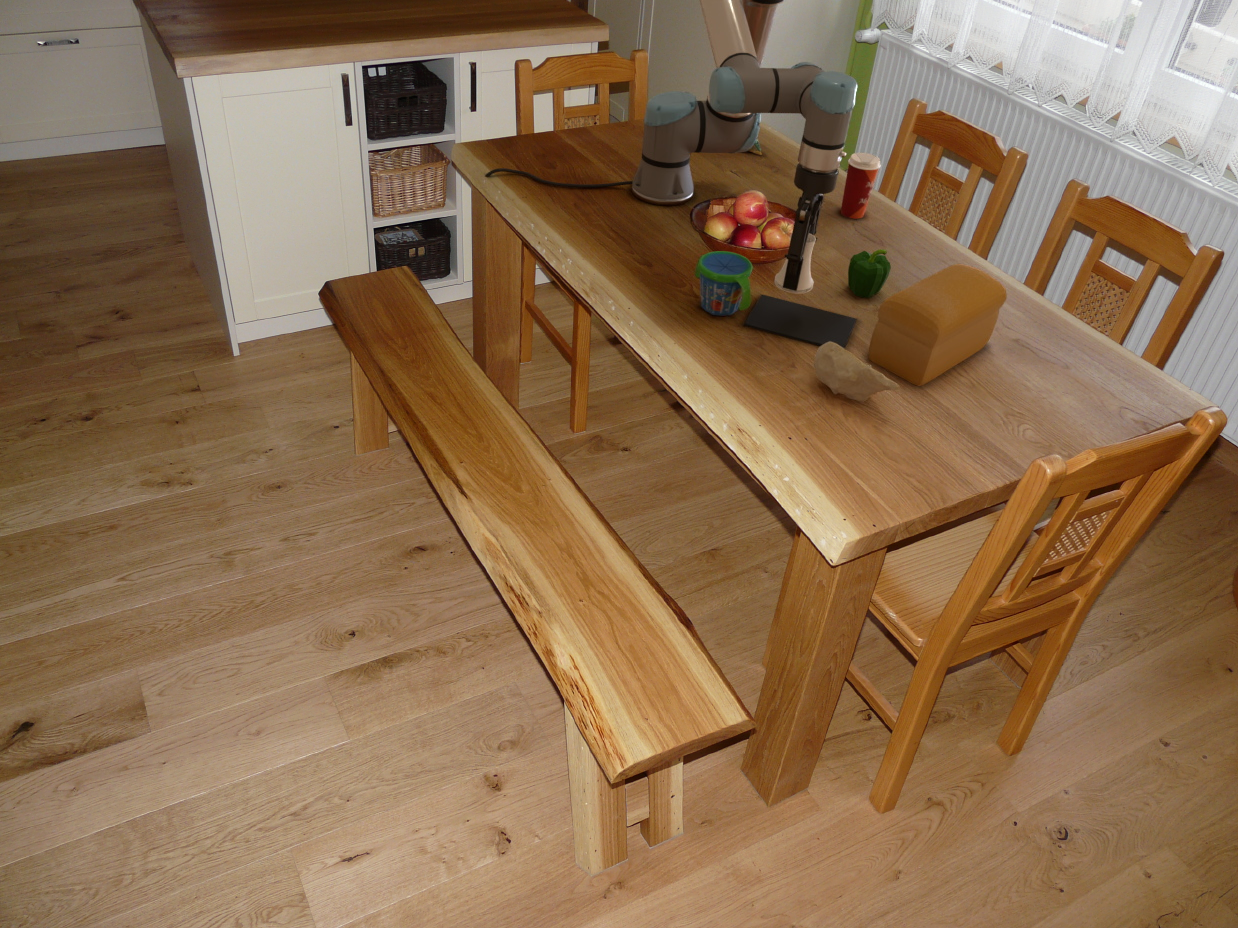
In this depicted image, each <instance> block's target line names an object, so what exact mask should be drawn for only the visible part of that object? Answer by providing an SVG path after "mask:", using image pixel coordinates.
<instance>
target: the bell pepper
mask: <svg viewBox="0 0 1238 928" xmlns="http://www.w3.org/2000/svg"><path fill="white" fill-rule="evenodd" d="M887 253H888V251H887V250H886V249H877V250H875V251H873V252H872V253H870V252H868V251H867V250H862V251H861V252H858V253H856V254H853V255H852V256H851V258H850V260H849V265H848V272H847V282H848V283H847V284H848V288H849V290H850V291H852V293H853V295H854V296H857V297H858V298H865V299H868V298H869V299H870V298H872V297H873V296H876V295H877V294H878V293H879V292H880V291H881V290H882V288H883V287H884V285H885V283H886V281H888V278H889V275H890V272H891V269H892V267H891V262H890V261H889V260H888V258H887V256H886V255H887Z"/></svg>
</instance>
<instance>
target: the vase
mask: <svg viewBox="0 0 1238 928" xmlns="http://www.w3.org/2000/svg"><path fill="white" fill-rule="evenodd" d="M791 236H792V233H790V236H789V238H790V239H789V242H790V241H791ZM815 241H816V235H812V234H810V233H809V235H808V238H807V242H806V246H805V250H804V254H803V264H802V269H801V274H800V278H799V283H798V288H797V290H796V291H794V290H790V289H786V288H783V283H784V278H785V273H786V268H787V263H788V259H787V258H786V257H785V260H784V263H783V265H782V267H781V269H780V270H779V272H777V273H776V274H775V276H774V280H773V281H774V285H775V286H776V287H777V288H778V289H779V290H781V291H784V292H786V293H789V294H795V295H796V294H798V295H800V294H801V295H802V294H806V293H809V292H811V291H812V290H813V288H814V284H815V282H814V279H813V278H812V272H811V261H812V253H813V249H814V247H815V244H816V243H815Z"/></svg>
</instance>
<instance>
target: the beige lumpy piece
mask: <svg viewBox="0 0 1238 928" xmlns="http://www.w3.org/2000/svg"><path fill="white" fill-rule="evenodd" d="M813 368H814V372H815V374H816V376H817V379H818V380H819V381H820V382H821V383H823V384H824V385H826V386H827V387H828V388H829V389H830V390H831V391H832V393H833V394H834V395H838V394H841V395H844V396H845V397H846V398H847V399H851V400H854V401H859V402H860V403H864V402H866V401H867V400H868V399H869V398H870V397H871V396H873V395H877V394H878V393H881V392H884V391H890V392H891V391H895V390H896V391H897V390H898V389H900V385H899V384H898V383H896V382H895V381H893V380H892V379H890V378H888V377H887V376H885V374H884V373H882V372H881V371H878V370H876V369H875V368H873V366H872V365H871V364H870V363H868V362H864V361H862V360H860V359H859V358H858V357H857V356H855V354H854V353H852V352H851V351H849V350H848V349H846V348H842V347H841V346H839V345H838V344H836V343H834V342H830V341H829V342H827V343H825V344H823V345H822V346H818V348H817V351H816V352H815V355H814V362H813Z"/></svg>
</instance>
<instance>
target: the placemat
mask: <svg viewBox="0 0 1238 928" xmlns="http://www.w3.org/2000/svg"><path fill="white" fill-rule="evenodd" d="M856 322H857V318H855V317H851V316H848V315H844V314H841V313H837V312H833V311H829V310H825V309H821V308H817V307H813V306H808V305H806V304H801V303H798V302H794V301H789V300H785V299H782V298H778V297H774V296H770V295H766V294H761V295H760V296H759V298H758V300H757V301H756V303H755V305H754V306H753V308H752V309H751V311H750V313H749V314H748V316H747V318H746V320H745V321H744V323H743V327H746V328H749V329H754V330H757V331H761V332H766V333H769V334H772V335H776V336H780V337H783V338H788V339H791V340H795V341H798V342H802V343H806V344H809V345H813V346H817V347H820V346H822V345H823V344H825V343H827V342H829V341H830V342H834V343H836V344H838V345H839V346H841V347H842V348H844V349H846V346H847V343H848V341H849V338H850V337H851V334H852V332H853V329H854V327H855V324H856Z"/></svg>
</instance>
